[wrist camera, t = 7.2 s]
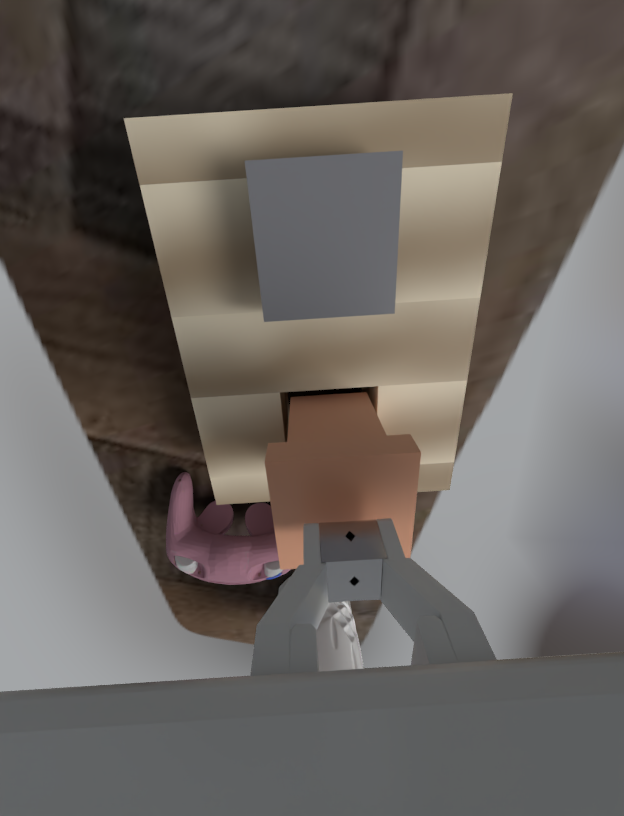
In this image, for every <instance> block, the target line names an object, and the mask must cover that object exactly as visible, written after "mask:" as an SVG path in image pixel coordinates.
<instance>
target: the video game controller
mask: <svg viewBox="0 0 624 816" xmlns="http://www.w3.org/2000/svg"><path fill="white" fill-rule="evenodd" d="M233 514H234V513H233V509H232V507H231V505H230V504H223V505H217V504H216V501H214V502H212V503H210V504H209V505H208V506H207V507H206V508H205V510H204V511H203V512H202V514H201V515H200V516H199V517H196V515H195V512H194V508H193V487H192V480H191V477H190V474H189V473H187V472H183V473H181V474H180V475H179V476H178V477H177V479H176V481H175V483H174V485H173V488H172V492H171V497H170V504H169V510H168V518H167V530H166V552H167V555H168V558H169V560H170V561H171V562H172V564H174V565H175V566H176V567H177V568H178V569H179V570H181V571H183V572H185V573H187V574H189V575H191V576H193V577H195V578H198V579H200V580H204V581H207V582H212V583H218V584H227V585H237V584H250V583H255V582H260V581H263V580H266V579H274V578H277V577H279V576H281V575H284V574H286V573H287V572H288V571H290V570H291V569H285V570H280V564H279V557H278V550H277V543H276V537H275V530H274V523H273V516H272V509H271V506H270V505H268V504H266V503H256V504H253V505H252V506H250V507H249V508H248V510H247V511H246V514H245V523H246V527H247V530H248V532H249V534H250V535H251V536H230V535H224V534H225V533H226V532H227V531H228V530H229V529H230V527H231V525H232V523H233V519H234V515H233Z"/></svg>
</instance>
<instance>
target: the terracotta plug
mask: <svg viewBox="0 0 624 816" xmlns="http://www.w3.org/2000/svg"><path fill="white" fill-rule="evenodd" d="M420 460H421V451H420V449H419V448H418V446H417V444H416V443H415V441H414V439H413V438H412V436H411V434H403V435H386V433H385V431H384V428H383V426H382V424H381V422H380V420H379V418H378V416H377V414H376V411H375V409H374V407H373V405H372V403H371V401H370V399H369V396H368V394H367V392H361V393H345V394H330V395H314V396H298V397H291V400H290V412H289V425H288V437H287V442H278V443H268V446H267V452H266V457H265V468H266V475H267V482H268V489H269V496H270V503H271V509H272V516H273V523H274V530H275V537H276V543H277V550H278V557H279V564H280V570H285V569H297V567H298V566H299V565H304V559H303V527H304V524H307V523H325V522H347V521H359V520H372V519H375V520H376V519H386V518H391V519H392V520H393V523H394V526H395V529H396V532H397V535H398V538H399V541H400V544H401V546H402V549H403V552H404V555H405V558H410V555H411V546H412V536H413V527H414V517H415V508H416V498H417V489H418V479H419V470H420ZM319 536H320V534H319Z"/></svg>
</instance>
